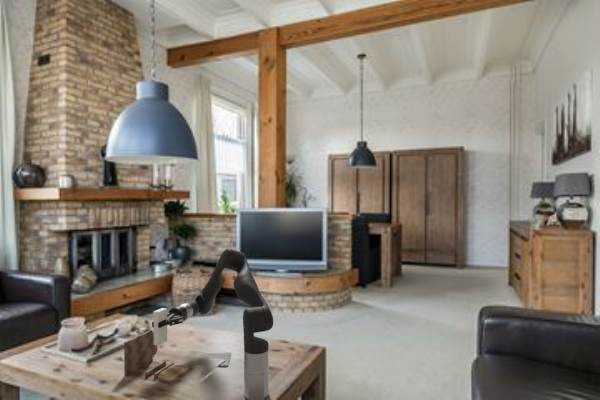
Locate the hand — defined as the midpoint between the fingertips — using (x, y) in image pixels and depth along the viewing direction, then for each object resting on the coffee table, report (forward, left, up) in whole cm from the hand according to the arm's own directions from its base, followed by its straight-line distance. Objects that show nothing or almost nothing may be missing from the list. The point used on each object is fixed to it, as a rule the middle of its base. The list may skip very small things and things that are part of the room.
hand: (155, 325), depth 168 cm
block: (+3, -1, -8) cm, 9 cm away
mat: (+15, -22, -22) cm, 34 cm away
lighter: (+26, +10, -22) cm, 35 cm away
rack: (+3, -1, -22) cm, 22 cm away
